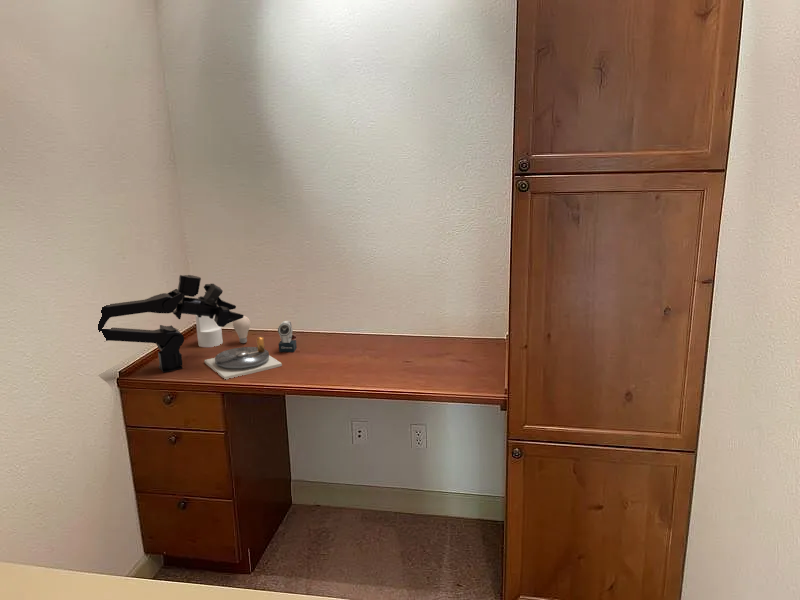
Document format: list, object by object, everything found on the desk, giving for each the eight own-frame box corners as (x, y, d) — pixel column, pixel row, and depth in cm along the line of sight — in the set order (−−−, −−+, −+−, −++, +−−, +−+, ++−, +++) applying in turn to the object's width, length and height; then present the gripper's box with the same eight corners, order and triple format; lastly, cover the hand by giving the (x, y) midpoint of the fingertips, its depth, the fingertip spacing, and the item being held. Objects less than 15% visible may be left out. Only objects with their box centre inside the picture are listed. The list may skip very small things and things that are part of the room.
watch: (277, 353, 219) (275, 324, 216) (283, 346, 227) (281, 318, 224) (292, 353, 219) (291, 324, 216) (298, 346, 226) (296, 318, 224)
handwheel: (226, 373, 196) (224, 354, 195) (207, 358, 210) (206, 340, 209) (277, 360, 206) (276, 342, 205) (256, 347, 221) (255, 330, 219)
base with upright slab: (204, 349, 226) (201, 318, 223) (194, 343, 232) (191, 313, 229) (226, 343, 232) (224, 313, 229) (216, 338, 238) (213, 309, 235)
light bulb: (254, 340, 234) (252, 313, 231) (248, 346, 228) (246, 318, 225) (238, 340, 235) (235, 313, 232) (232, 346, 228) (229, 318, 226)
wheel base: (225, 379, 195) (224, 375, 195) (204, 362, 211) (204, 358, 211) (281, 366, 207) (281, 361, 206) (258, 350, 222) (258, 347, 222)
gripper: (207, 293, 198) (252, 299, 206) (194, 276, 212) (237, 282, 221) (200, 325, 200) (245, 329, 209) (187, 305, 215) (230, 310, 224)
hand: (239, 311), depth 216 cm, fingers open, 9 cm apart
